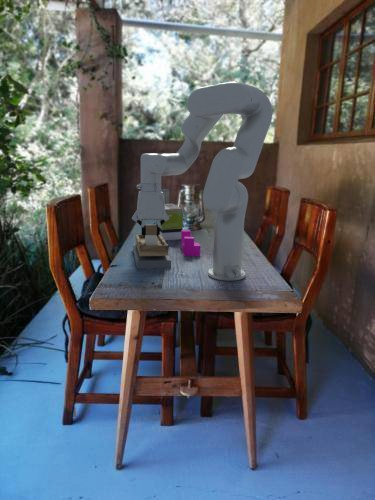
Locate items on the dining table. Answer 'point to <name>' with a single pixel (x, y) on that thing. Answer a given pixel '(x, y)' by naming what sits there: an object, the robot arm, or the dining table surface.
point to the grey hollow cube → (166, 195)
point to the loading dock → (150, 260)
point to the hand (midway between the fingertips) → (150, 236)
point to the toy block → (189, 244)
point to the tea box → (172, 223)
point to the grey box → (151, 240)
